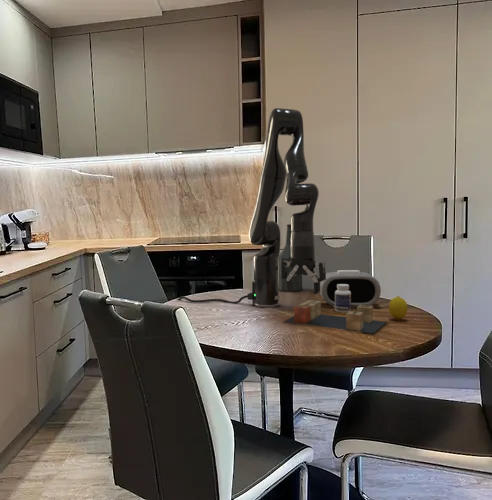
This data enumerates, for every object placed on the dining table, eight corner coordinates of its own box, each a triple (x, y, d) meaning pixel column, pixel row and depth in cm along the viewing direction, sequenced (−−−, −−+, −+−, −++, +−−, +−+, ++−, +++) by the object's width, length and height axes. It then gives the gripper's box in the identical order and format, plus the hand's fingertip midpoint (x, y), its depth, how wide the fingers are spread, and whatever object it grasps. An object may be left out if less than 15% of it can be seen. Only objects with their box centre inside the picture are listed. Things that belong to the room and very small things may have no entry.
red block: (294, 322, 163) (293, 307, 162) (298, 319, 166) (298, 304, 165) (305, 323, 160) (305, 308, 160) (310, 321, 163) (310, 306, 163)
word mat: (284, 322, 164) (284, 321, 164) (302, 313, 176) (302, 312, 176) (373, 334, 146) (373, 333, 146) (386, 323, 158) (386, 321, 158)
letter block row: (346, 329, 152) (346, 313, 151) (360, 319, 163) (360, 304, 163) (359, 331, 149) (359, 314, 149) (373, 320, 161) (373, 305, 160)
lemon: (405, 318, 163) (406, 294, 163) (408, 322, 158) (409, 298, 157) (387, 317, 165) (387, 294, 164) (389, 321, 160) (390, 297, 159)
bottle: (280, 292, 217) (279, 225, 214) (277, 288, 227) (276, 224, 224) (304, 292, 215) (303, 224, 212) (300, 288, 225) (299, 223, 222)
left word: (299, 318, 167) (299, 304, 166) (309, 313, 174) (309, 299, 173) (311, 320, 164) (311, 305, 164) (321, 315, 171) (320, 300, 171)
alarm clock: (321, 308, 183) (321, 273, 182) (318, 302, 192) (318, 269, 191) (381, 308, 178) (381, 272, 177) (375, 303, 187) (375, 268, 186)
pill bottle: (352, 313, 174) (352, 286, 173) (336, 312, 175) (336, 286, 174) (349, 309, 179) (349, 283, 178) (333, 309, 180) (333, 283, 179)
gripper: (328, 243, 159) (328, 292, 160) (286, 243, 168) (287, 289, 169) (320, 245, 153) (320, 296, 155) (277, 245, 162) (278, 293, 164)
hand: (303, 292), depth 162 cm, fingers open, 8 cm apart
